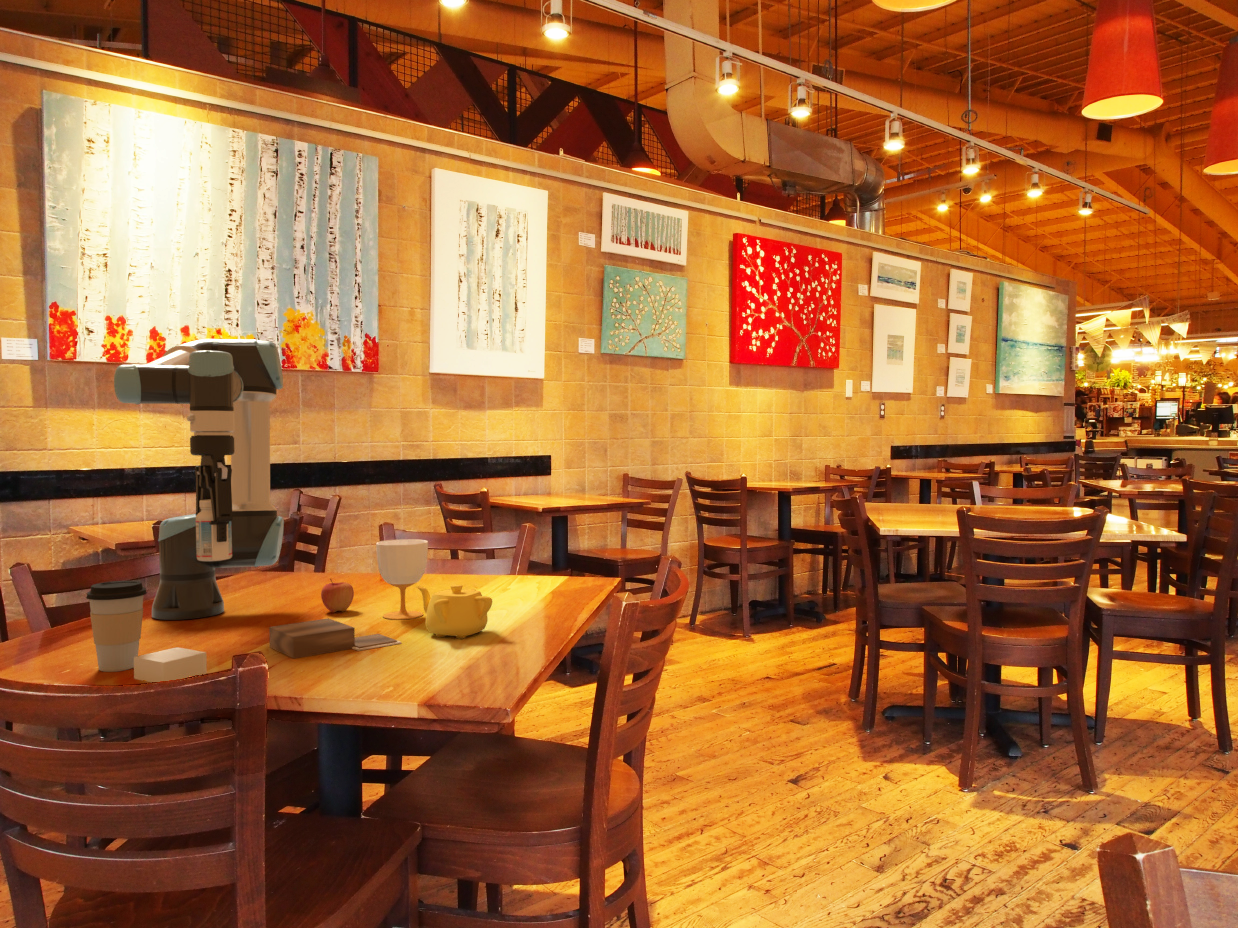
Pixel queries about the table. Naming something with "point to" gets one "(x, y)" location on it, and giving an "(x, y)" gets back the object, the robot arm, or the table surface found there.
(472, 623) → the teapot
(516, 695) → the table surface
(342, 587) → the apple
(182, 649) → the beige block
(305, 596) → the table surface
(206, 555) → the pill bottle
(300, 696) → the table surface
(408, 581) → the cup
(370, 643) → the tile
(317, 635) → the walnut block
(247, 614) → the table surface
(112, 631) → the coffee cup
